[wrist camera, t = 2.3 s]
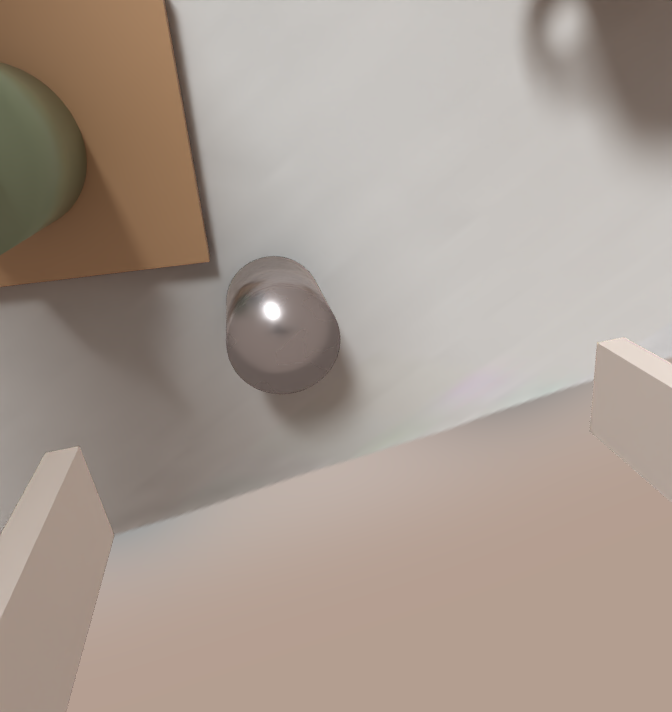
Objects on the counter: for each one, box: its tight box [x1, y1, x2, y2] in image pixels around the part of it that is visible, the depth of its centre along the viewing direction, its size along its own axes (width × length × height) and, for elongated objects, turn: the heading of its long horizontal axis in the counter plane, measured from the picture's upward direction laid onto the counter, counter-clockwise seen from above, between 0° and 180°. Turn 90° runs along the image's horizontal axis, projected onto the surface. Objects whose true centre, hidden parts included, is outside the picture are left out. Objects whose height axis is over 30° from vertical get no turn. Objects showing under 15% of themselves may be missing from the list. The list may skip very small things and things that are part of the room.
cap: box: [226, 256, 340, 394], centre depth 27 cm, size 5×5×6 cm
